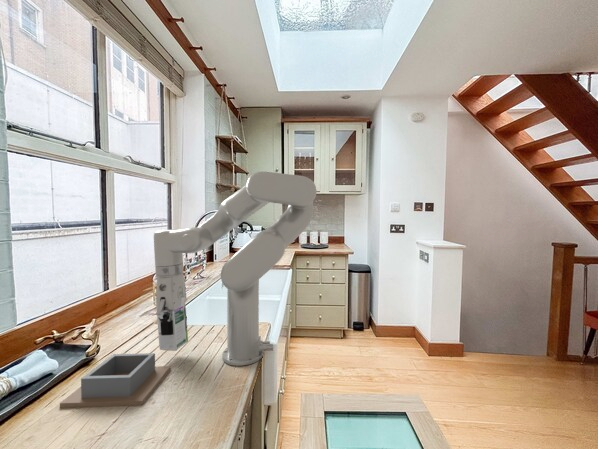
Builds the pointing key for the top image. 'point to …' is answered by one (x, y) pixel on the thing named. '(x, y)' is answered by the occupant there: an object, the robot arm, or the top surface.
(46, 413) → the top surface
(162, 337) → the syrup box
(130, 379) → the caddy
